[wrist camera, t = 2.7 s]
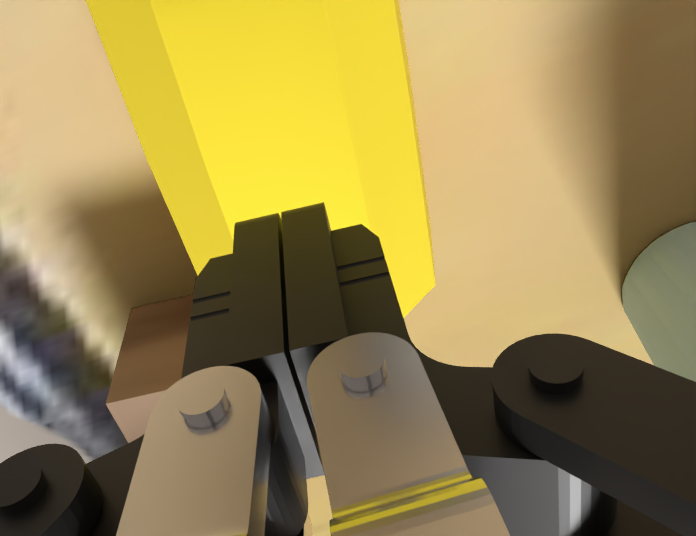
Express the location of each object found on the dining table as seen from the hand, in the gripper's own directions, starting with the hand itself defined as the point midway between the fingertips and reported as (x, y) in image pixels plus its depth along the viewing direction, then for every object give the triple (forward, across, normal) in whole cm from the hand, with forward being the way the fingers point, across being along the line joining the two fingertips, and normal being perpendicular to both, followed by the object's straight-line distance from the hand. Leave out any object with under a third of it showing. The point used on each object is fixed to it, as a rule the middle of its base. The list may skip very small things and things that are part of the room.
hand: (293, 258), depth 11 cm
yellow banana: (+11, 0, 0) cm, 11 cm away
